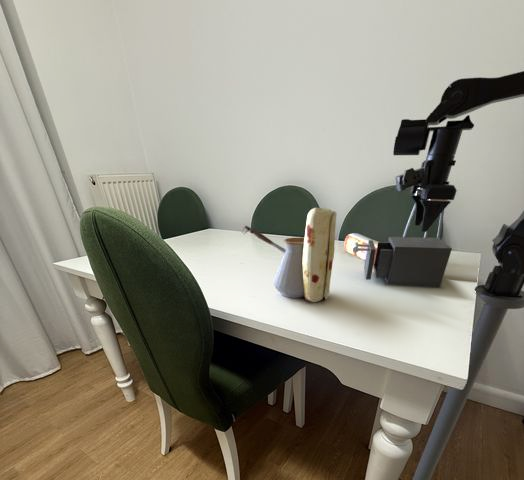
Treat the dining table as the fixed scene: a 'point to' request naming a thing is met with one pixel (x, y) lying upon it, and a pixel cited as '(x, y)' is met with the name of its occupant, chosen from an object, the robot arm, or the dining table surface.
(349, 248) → the snack package
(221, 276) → the dining table surface
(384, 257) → the grey drawer
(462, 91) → the robot arm
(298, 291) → the coffee pot
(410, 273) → the dark grey box
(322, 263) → the food model
